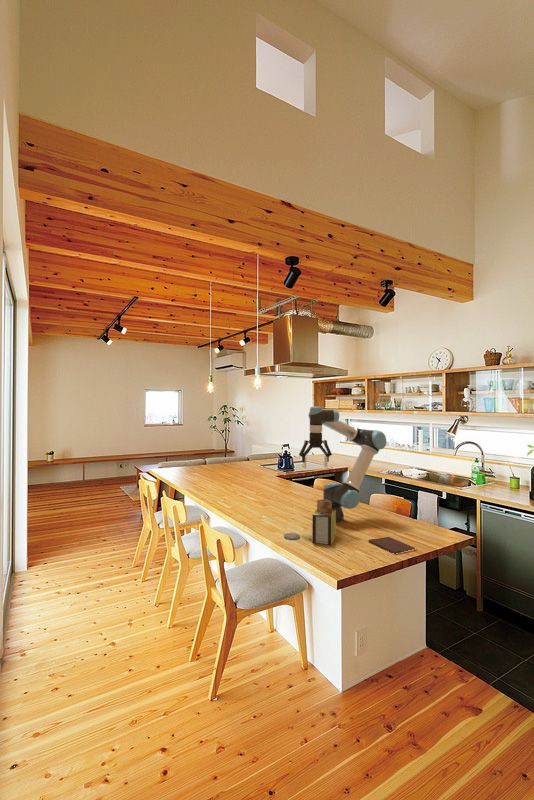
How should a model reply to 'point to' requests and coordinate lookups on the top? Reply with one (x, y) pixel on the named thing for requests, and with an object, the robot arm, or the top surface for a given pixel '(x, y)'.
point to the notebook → (391, 545)
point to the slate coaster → (291, 536)
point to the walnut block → (324, 506)
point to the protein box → (324, 527)
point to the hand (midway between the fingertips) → (315, 467)
